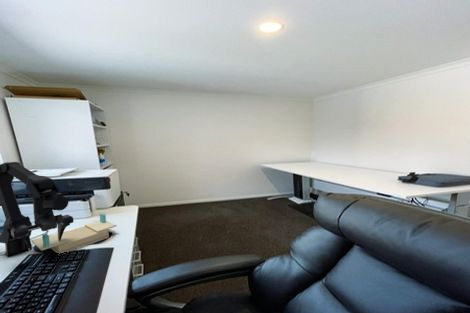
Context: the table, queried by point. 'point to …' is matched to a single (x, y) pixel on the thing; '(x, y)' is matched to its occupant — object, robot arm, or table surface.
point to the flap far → (101, 224)
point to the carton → (80, 239)
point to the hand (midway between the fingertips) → (45, 244)
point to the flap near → (49, 241)
